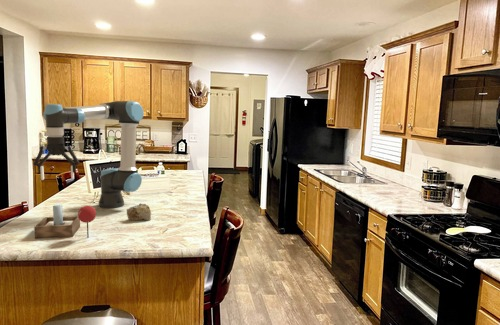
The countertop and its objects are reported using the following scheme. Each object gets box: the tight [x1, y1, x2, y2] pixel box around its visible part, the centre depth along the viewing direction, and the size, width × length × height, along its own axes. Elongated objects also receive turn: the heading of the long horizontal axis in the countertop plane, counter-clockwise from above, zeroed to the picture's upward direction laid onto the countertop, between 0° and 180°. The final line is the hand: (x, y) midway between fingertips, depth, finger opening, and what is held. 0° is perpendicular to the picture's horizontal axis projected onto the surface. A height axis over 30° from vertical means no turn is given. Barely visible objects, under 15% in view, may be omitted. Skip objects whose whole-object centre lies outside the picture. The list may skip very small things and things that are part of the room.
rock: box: [126, 202, 152, 221], centre depth 208 cm, size 12×7×10 cm, turn 93°
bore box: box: [33, 215, 81, 239], centre depth 183 cm, size 16×16×6 cm
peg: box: [52, 204, 64, 225], centre depth 182 cm, size 4×4×12 cm
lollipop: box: [77, 205, 97, 239], centre depth 175 cm, size 8×8×15 cm
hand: (57, 179), depth 188 cm, fingers open, 13 cm apart
